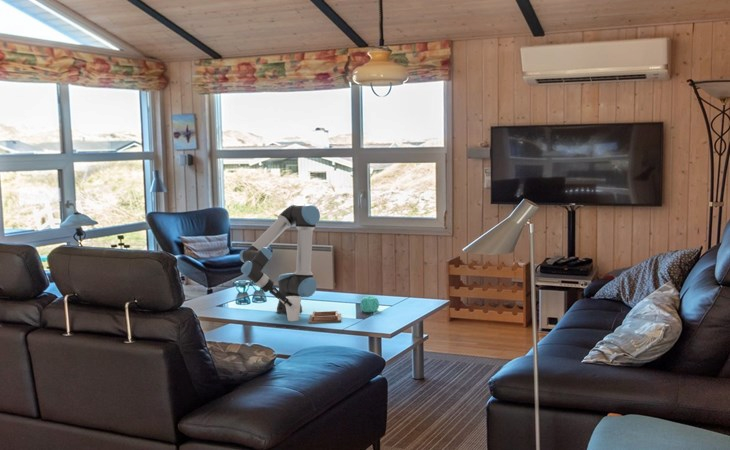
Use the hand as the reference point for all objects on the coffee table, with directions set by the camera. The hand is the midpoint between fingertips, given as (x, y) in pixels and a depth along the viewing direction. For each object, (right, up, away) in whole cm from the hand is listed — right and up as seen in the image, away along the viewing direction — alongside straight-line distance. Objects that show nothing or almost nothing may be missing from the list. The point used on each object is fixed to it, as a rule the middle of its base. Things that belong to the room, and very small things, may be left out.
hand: (291, 306), depth 423 cm
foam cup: (+1, -8, +1) cm, 8 cm away
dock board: (+19, -7, 0) cm, 20 cm away
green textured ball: (+44, -5, +19) cm, 49 cm away
